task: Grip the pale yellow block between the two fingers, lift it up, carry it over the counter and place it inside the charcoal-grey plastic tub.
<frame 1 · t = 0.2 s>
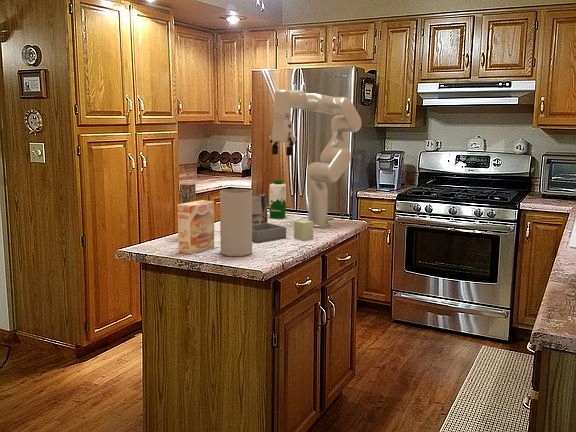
hand: (282, 154, 264), 36 cm above the table, tool pointing down, fingers open, 9 cm apart
coffeecake box: (196, 250, 232), on the table
coffee box: (259, 227, 280), on the table
tub: (262, 237, 256), on the table
milk carton: (277, 217, 308), on the table
bark textured wooden post: (188, 238, 254), on the table
pale yellow block: (303, 239, 255), on the table
cylinder vase: (236, 253, 227), on the table
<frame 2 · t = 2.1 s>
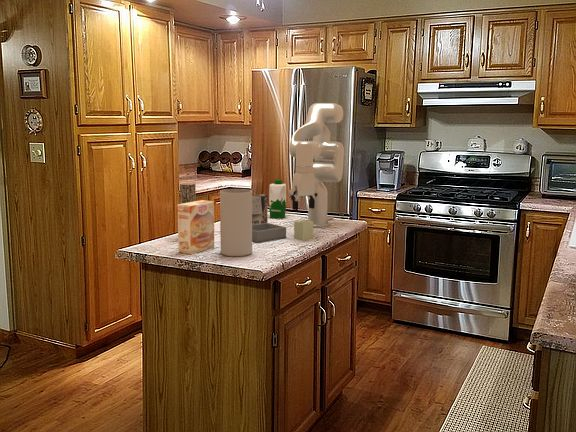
hand: (303, 209, 252), 14 cm above the table, tool pointing down, fingers open, 9 cm apart
nothing on the table moved.
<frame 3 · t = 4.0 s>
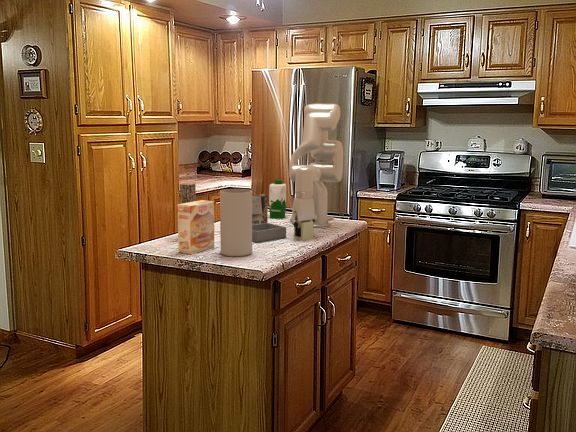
hand: (303, 234, 254), 2 cm above the table, tool pointing down, fingers closed on pale yellow block, 6 cm apart
pale yellow block: (303, 238, 255), on the table, touching gripper
everything else where it was.
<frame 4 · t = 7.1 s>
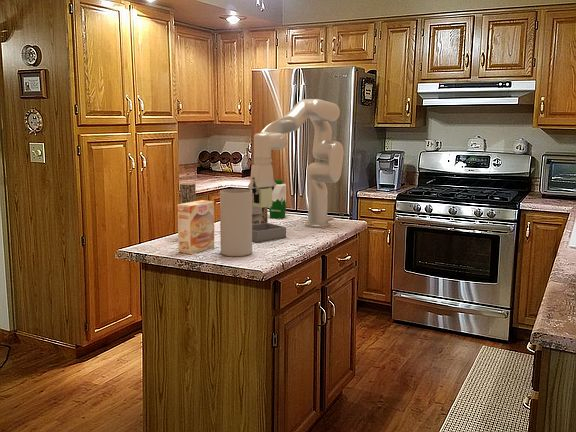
hand: (262, 202, 253), 16 cm above the table, tool pointing down, fingers closed on pale yellow block, 6 cm apart
pale yellow block: (262, 206, 253), point 14 cm above the table, touching gripper
everything else where it was.
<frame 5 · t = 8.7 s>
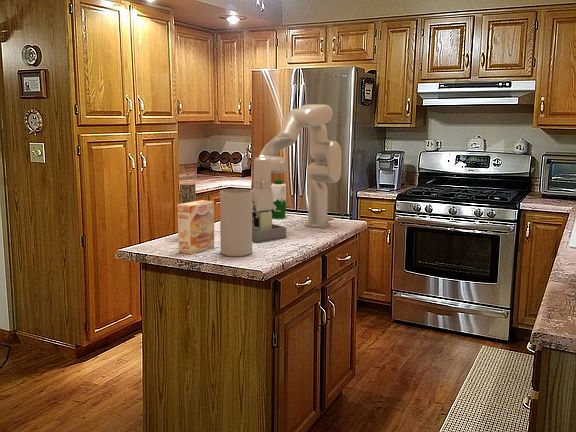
hand: (262, 225, 255), 6 cm above the table, tool pointing down, fingers closed on pale yellow block, 6 cm apart
pale yellow block: (262, 229, 255), point 4 cm above the table, touching gripper
everything else where it was.
when the fingers open (4 cm above the table, at t = 10.1 s): pale yellow block drops 1 cm, resting on tub.
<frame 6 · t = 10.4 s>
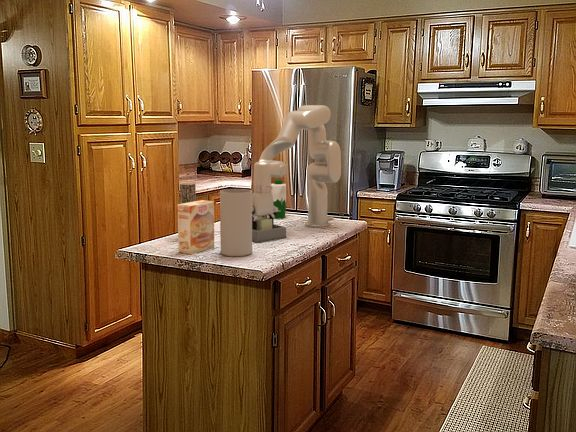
hand: (262, 228, 255), 5 cm above the table, tool pointing down, fingers open, 9 cm apart
pale yellow block: (262, 236, 256), point 1 cm above the table, touching tub
everything else where it was.
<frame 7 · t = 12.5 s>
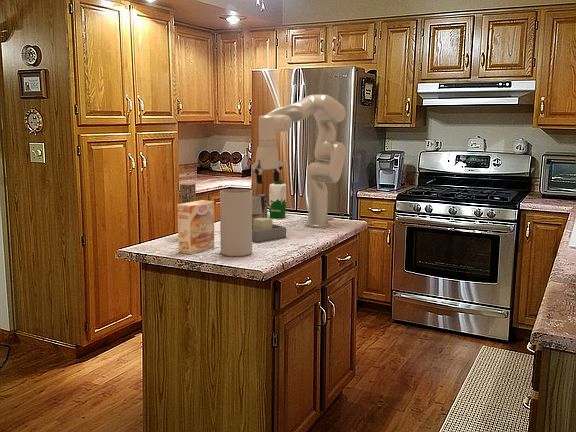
hand: (268, 182, 254), 25 cm above the table, tool pointing down, fingers open, 9 cm apart
nothing on the table moved.
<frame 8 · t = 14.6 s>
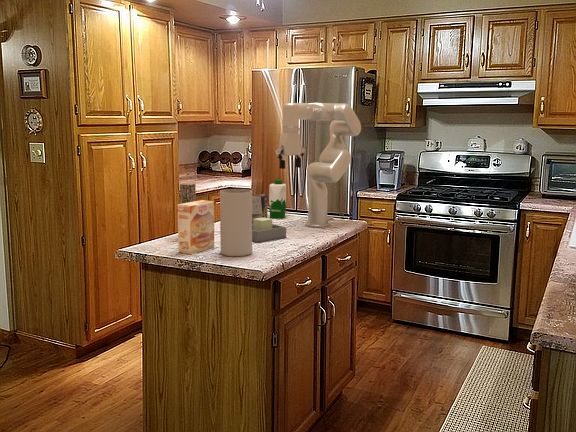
hand: (290, 168, 264), 30 cm above the table, tool pointing down, fingers open, 9 cm apart
nothing on the table moved.
at the end: pale yellow block inside the target area on the tub (0.1 cm from its centre), point 0.6 cm above the tub's base; pale yellow block tilted 0°; the gripper is holding nothing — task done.
